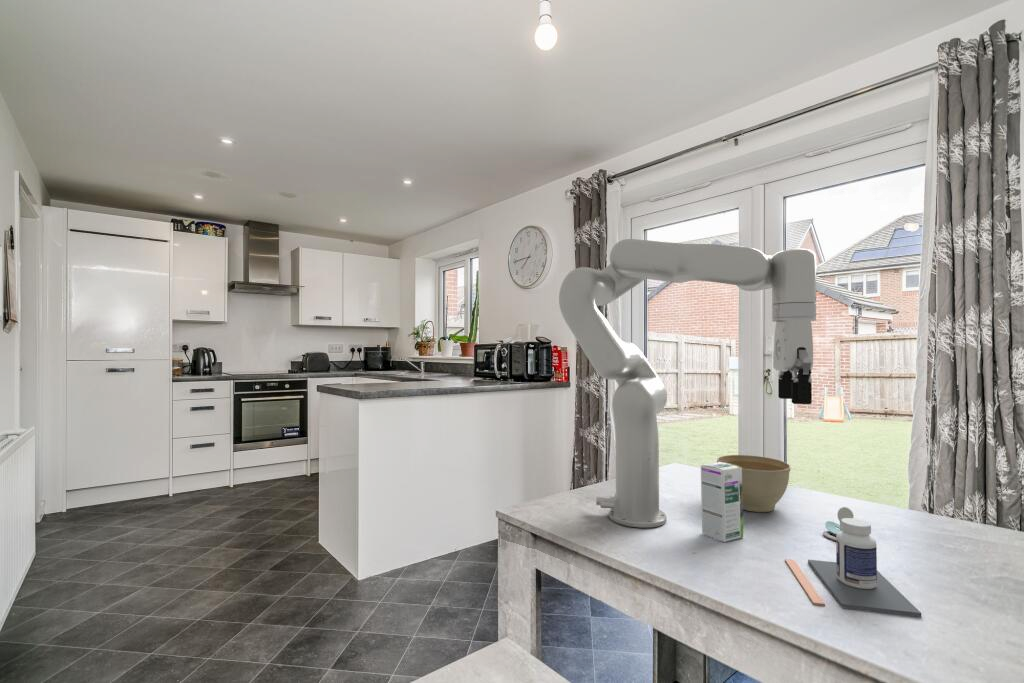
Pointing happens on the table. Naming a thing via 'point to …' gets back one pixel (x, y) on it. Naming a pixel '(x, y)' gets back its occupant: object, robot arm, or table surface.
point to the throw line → (805, 583)
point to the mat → (864, 593)
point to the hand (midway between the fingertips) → (794, 401)
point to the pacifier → (830, 525)
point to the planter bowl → (760, 480)
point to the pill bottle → (856, 554)
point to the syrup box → (722, 501)
